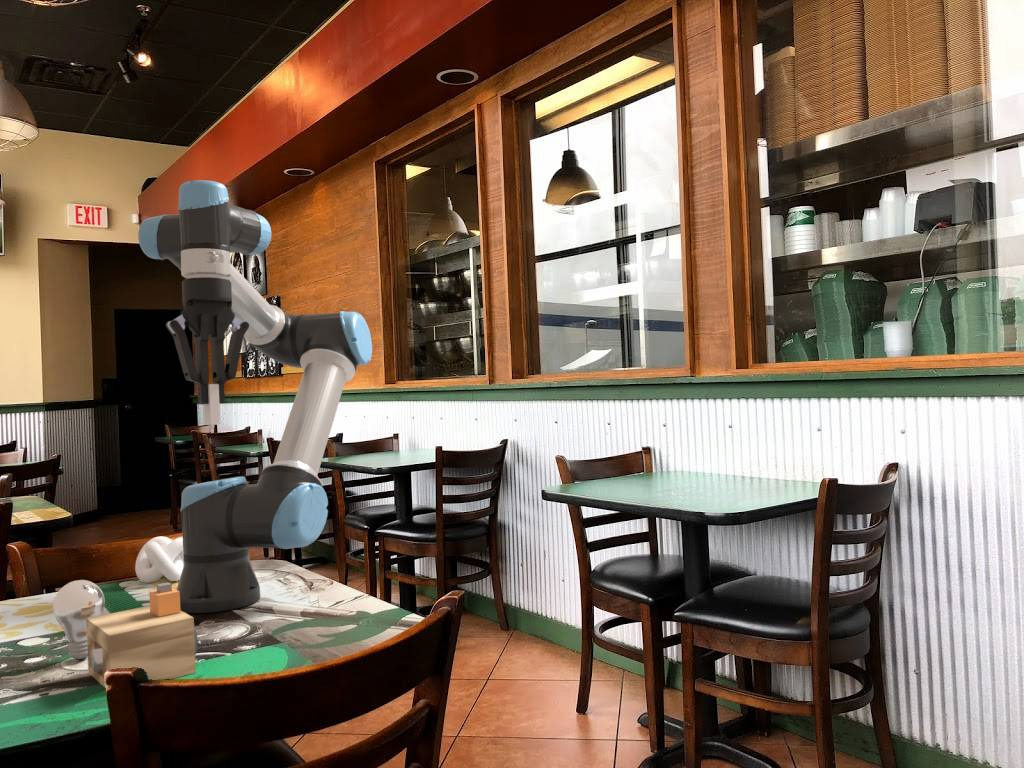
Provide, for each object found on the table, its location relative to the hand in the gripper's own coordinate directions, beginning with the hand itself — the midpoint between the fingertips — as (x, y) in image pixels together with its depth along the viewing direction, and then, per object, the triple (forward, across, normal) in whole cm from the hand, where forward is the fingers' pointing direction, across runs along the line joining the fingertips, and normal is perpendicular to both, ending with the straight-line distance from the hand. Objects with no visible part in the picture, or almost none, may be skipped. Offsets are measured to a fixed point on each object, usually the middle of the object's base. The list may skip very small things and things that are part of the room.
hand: (212, 424), depth 131 cm
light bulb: (+35, -19, +5) cm, 40 cm away
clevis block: (+34, -14, -8) cm, 38 cm away
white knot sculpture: (+35, +7, +51) cm, 62 cm away
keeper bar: (+27, -11, -8) cm, 30 cm away
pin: (+34, -15, -8) cm, 38 cm away
